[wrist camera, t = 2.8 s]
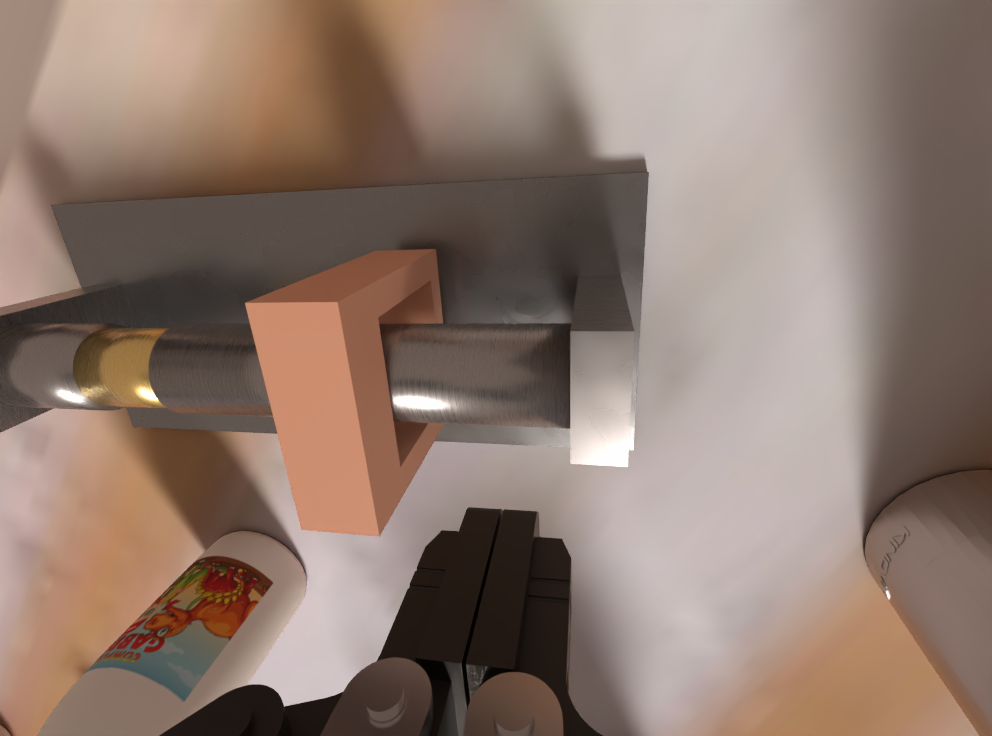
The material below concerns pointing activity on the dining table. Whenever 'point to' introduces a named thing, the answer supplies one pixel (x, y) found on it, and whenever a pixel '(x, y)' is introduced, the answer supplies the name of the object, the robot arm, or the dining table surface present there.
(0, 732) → the lidded jar
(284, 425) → the collar
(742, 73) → the dining table surface
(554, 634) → the robot arm
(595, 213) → the rail
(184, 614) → the milk bottle
